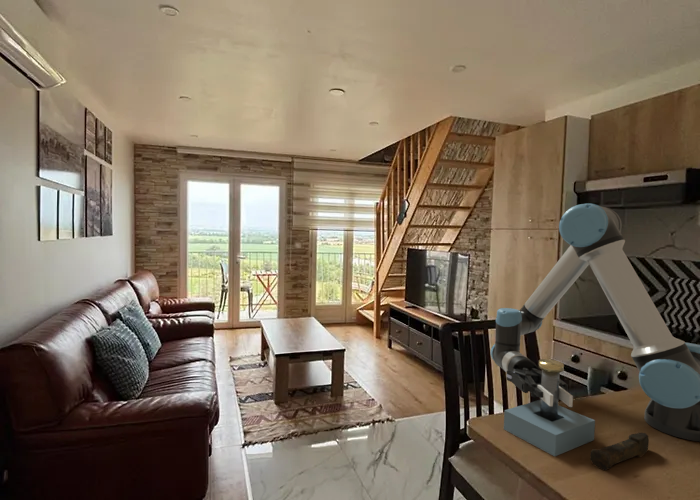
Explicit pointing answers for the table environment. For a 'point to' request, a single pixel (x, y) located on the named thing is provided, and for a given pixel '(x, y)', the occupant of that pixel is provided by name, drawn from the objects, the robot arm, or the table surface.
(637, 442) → the dark brown wooden club
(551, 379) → the pin
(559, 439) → the socket block
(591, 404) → the table surface
